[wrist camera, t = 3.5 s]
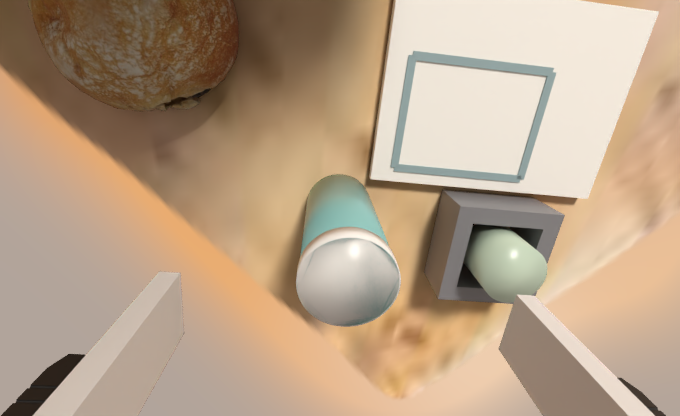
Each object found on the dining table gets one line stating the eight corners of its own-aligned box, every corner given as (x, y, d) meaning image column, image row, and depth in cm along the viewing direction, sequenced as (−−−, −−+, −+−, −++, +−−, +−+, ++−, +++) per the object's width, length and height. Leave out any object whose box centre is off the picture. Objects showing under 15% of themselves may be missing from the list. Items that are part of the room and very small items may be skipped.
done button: (453, 267, 25) (476, 300, 22) (466, 218, 24) (492, 244, 20) (504, 271, 26) (535, 304, 22) (520, 223, 24) (556, 249, 20)
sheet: (369, 176, 24) (370, 179, 23) (396, -21, 20) (399, -26, 19) (579, 195, 25) (588, 199, 25) (647, 13, 21) (660, 11, 20)
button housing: (424, 272, 27) (437, 299, 24) (442, 189, 25) (460, 206, 21) (507, 278, 28) (532, 304, 24) (533, 197, 25) (564, 215, 22)
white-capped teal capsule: (304, 226, 25) (293, 323, 15) (309, 167, 24) (299, 232, 14) (364, 230, 26) (391, 329, 16) (372, 172, 24) (409, 241, 14)
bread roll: (155, 110, 25) (139, 172, 20) (-6, -33, 18) (-102, 1, 13) (261, 31, 24) (278, 74, 18) (131, -159, 17) (93, -184, 11)
